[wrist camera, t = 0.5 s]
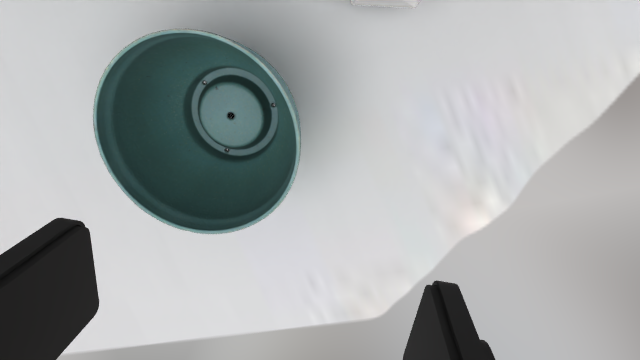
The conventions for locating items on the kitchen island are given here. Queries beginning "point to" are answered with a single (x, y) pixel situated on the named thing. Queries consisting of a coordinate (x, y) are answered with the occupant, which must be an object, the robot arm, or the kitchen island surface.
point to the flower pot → (197, 130)
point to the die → (387, 3)
